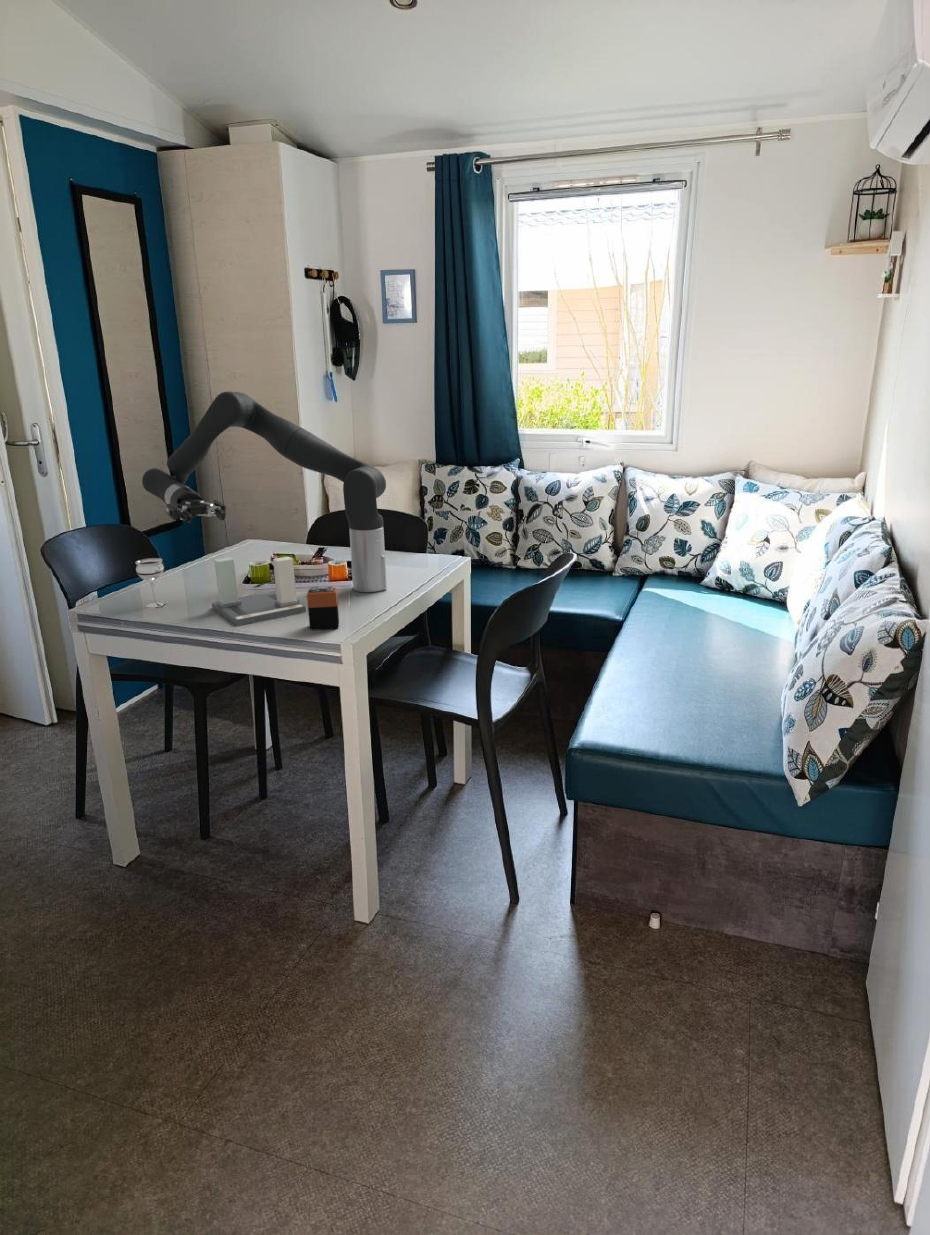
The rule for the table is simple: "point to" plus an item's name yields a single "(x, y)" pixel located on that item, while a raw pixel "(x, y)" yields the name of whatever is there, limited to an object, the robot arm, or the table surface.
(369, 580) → the robot arm
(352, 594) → the table surface
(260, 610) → the grey square tray
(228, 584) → the sage tab
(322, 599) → the battery
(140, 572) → the wineglass
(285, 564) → the cream tab
